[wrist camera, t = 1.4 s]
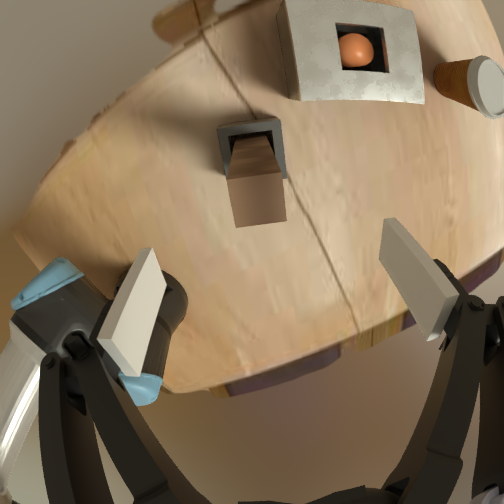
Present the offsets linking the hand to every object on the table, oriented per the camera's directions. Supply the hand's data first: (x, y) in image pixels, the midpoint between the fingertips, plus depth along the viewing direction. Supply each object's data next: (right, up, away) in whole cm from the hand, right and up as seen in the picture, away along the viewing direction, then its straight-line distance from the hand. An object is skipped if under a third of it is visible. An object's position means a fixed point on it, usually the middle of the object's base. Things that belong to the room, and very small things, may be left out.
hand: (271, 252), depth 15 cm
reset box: (+11, +27, +14) cm, 33 cm away
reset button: (+11, +26, +12) cm, 30 cm away
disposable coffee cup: (+31, +28, +14) cm, 44 cm away
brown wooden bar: (-1, +15, +22) cm, 27 cm away
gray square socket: (-1, +15, +22) cm, 27 cm away
